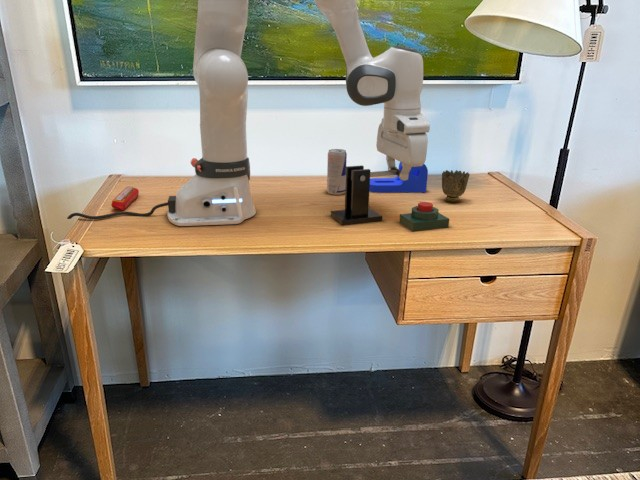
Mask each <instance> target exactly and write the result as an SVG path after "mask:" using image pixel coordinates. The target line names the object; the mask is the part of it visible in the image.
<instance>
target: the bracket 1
mask: <svg viewBox="0 0 640 480" xmlns="http://www.w3.org/2000/svg"><path fill="white" fill-rule="evenodd" d="M359 169H362V170H359ZM351 170H352V180H351ZM370 172H371V169H370V168H365V167H364V165H361V164H360V165H348V166H347V165H346V186H345V193H344V209H339V210H330V217H331V218H332V219H333V220H335V221H336V222H337V223H339V224H340V225H341V226H350V225H358V224H369V223H376V222H383V215H382V214H380V213H378V212H377V211H375V210H374V209H372V208H371V207H369V206H370V205H369V204H370V192H369V189H370V179H371V177H370Z"/></svg>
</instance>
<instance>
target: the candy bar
mask: <svg viewBox="0 0 640 480" xmlns="http://www.w3.org/2000/svg"><path fill="white" fill-rule="evenodd" d="M139 191H140V190H139V189H138V188H136V187H133V186H126V187H125V188H124V189H123V190H122V191H121V192H120V193H119V194H117V195H116V196H115V197H114V198H113V199H112V201H111V208H113V209H117V210H120V211H125V210H126V209H127V208H128V207H129V206H130V205H131V204H132V202H134V201H135V200H136V199H137V198H138V196H139V194H140V192H139Z"/></svg>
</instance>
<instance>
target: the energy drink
mask: <svg viewBox="0 0 640 480" xmlns="http://www.w3.org/2000/svg"><path fill="white" fill-rule="evenodd" d="M347 156H348V153H347V150H345V149H343V148H331V149H328V152H327V167H326V168H327V169H326V171H327V173H326V174H327V175H326V192H327V194H329V195H333V196H341V195H345V186H346V167H347Z"/></svg>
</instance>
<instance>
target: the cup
mask: <svg viewBox="0 0 640 480" xmlns="http://www.w3.org/2000/svg"><path fill="white" fill-rule="evenodd" d="M469 178H470V173H469V172H468V171H467V172H465V171H461V170H457V169H456V170H455V171H453V169H451V170H448V169H446V170H445V171H444V170H443V171H442V172H441V189H442V192H443V194H444V195H445V200H446V201H447V202H449V203H458V202H459V200H460V197H461V196H463V195H464V193H465V192H466V189H467V186H468V183H469Z"/></svg>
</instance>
